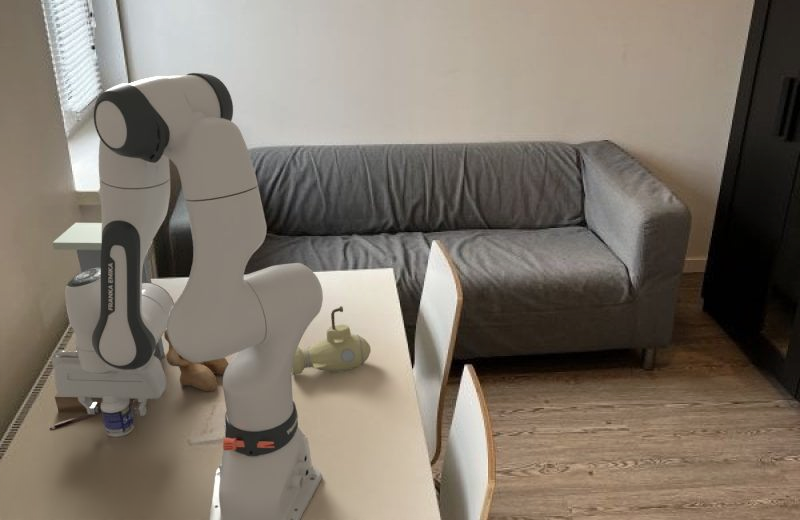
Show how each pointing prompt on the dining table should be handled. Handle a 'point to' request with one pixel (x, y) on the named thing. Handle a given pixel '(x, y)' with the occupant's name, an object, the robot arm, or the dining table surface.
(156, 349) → the grey pedestal stand
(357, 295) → the dining table surface
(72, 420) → the pen
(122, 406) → the pill bottle
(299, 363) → the toy
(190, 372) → the figurine
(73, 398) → the socket block
